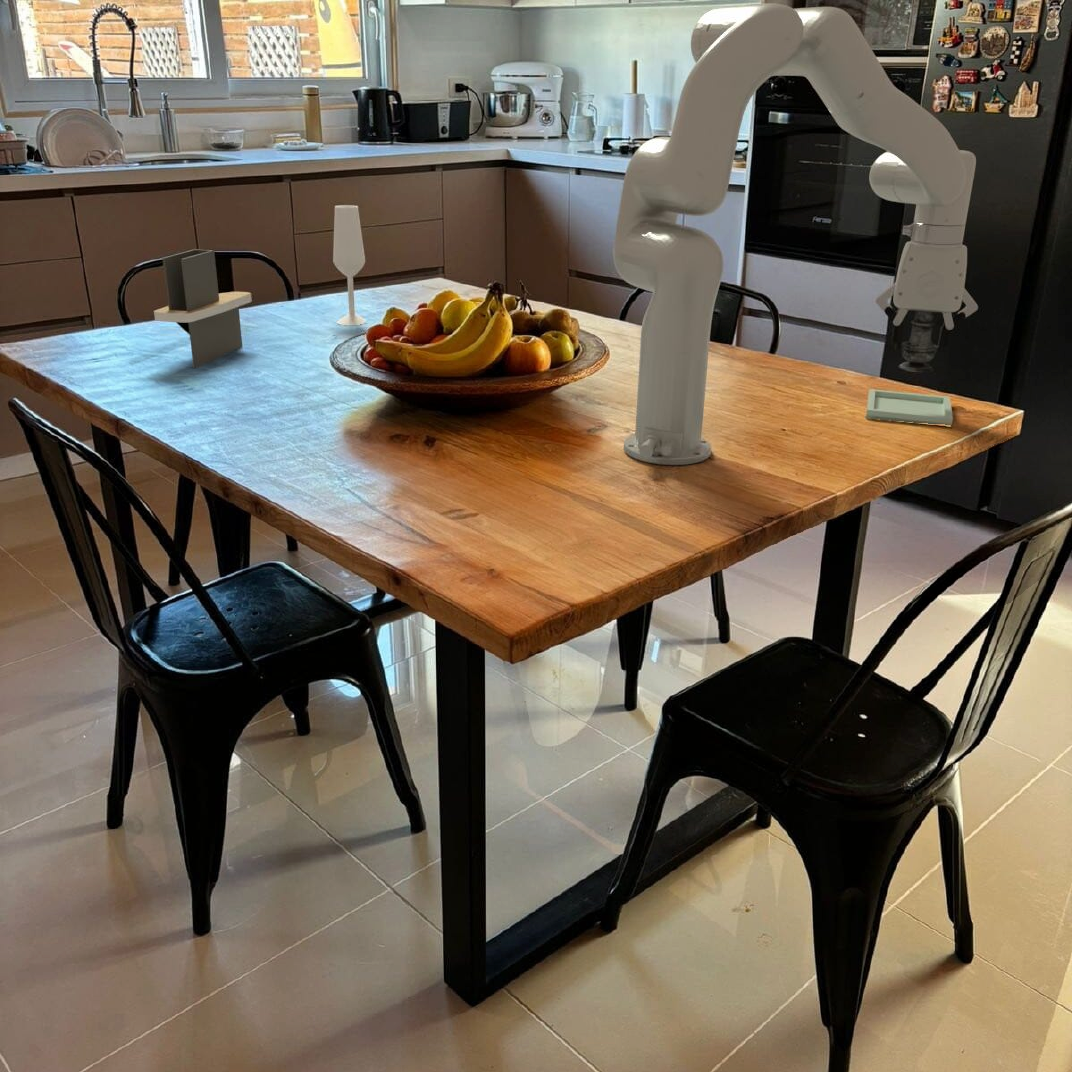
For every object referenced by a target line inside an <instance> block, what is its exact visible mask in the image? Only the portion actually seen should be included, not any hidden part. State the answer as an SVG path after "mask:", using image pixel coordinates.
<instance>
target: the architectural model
mask: <svg viewBox="0 0 1072 1072" xmlns="http://www.w3.org/2000/svg"><path fill="white" fill-rule="evenodd" d="M162 265H163V266H162V267H163V271H164V272H163V273H164V282H165V290H166V298H167V304H168V305H166V306H164V307H161V308H158V309H156V310H153V314H154V321H157V322H165V323H170V322H171V323H176V324H177V325H178V326H179V327H180V328H181V329H182V330H183V331H184V332H186V334H188V335H189V341H190V349H191V356H192V364H193V365H192V367H193V369H197V368H200V367H201V366H204V365H206V364H208V363H210V362H212V361H215V360H218V359H219V358H221V357H224V356H225V355H229V354H230V353H232V352H235V351H237V350H240V349H241V348H243V339H242V329H241V328H242V327H241V320H240V319H241V317H240V307H242V306H244V305H247V304H249V303H251V302H252V293H251V292H248V291H229V292H220V293H219V286H218V285H219V283H218V274H217V266H216V256H215V250H213V249H212V250H211V249H195V248H194V249H190V250H188V251H183V252H180V253H176V254H172V255H169V256H168V255H167V256H164V257H162Z"/></svg>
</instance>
